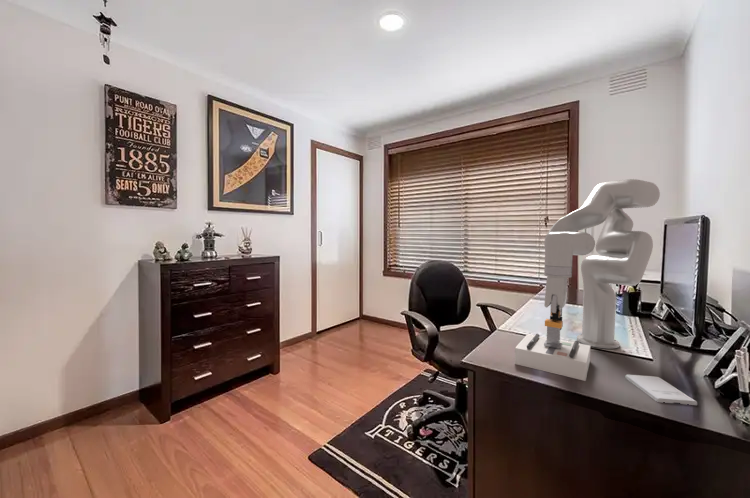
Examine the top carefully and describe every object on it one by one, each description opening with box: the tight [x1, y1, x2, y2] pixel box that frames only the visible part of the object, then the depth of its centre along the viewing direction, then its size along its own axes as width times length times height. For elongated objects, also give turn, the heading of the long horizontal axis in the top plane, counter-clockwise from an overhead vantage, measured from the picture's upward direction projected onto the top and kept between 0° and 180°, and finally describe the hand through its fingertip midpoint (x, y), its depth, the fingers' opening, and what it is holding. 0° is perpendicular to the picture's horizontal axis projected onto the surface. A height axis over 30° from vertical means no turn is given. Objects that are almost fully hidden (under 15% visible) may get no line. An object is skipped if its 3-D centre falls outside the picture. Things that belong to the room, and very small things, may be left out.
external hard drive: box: [624, 374, 698, 406], centre depth 80 cm, size 2×8×12 cm
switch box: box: [514, 333, 591, 382], centre depth 97 cm, size 16×18×6 cm
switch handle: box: [544, 318, 564, 349], centre depth 96 cm, size 4×4×8 cm
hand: (555, 328), depth 100 cm, fingers closed
